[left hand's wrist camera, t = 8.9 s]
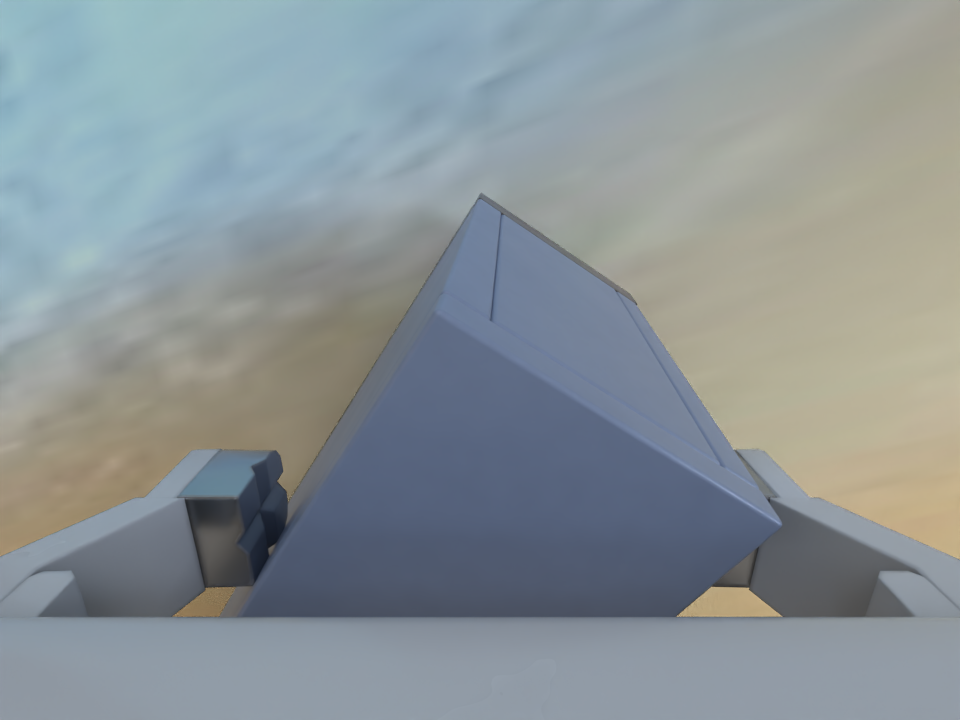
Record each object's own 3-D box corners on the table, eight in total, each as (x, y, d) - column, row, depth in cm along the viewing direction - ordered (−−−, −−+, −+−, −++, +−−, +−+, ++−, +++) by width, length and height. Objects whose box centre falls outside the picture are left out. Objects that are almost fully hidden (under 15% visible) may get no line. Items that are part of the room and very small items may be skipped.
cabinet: (365, 621, 23) (265, 965, 13) (248, 565, 22) (55, 895, 12) (630, 294, 16) (789, 526, 7) (481, 192, 15) (436, 306, 6)
